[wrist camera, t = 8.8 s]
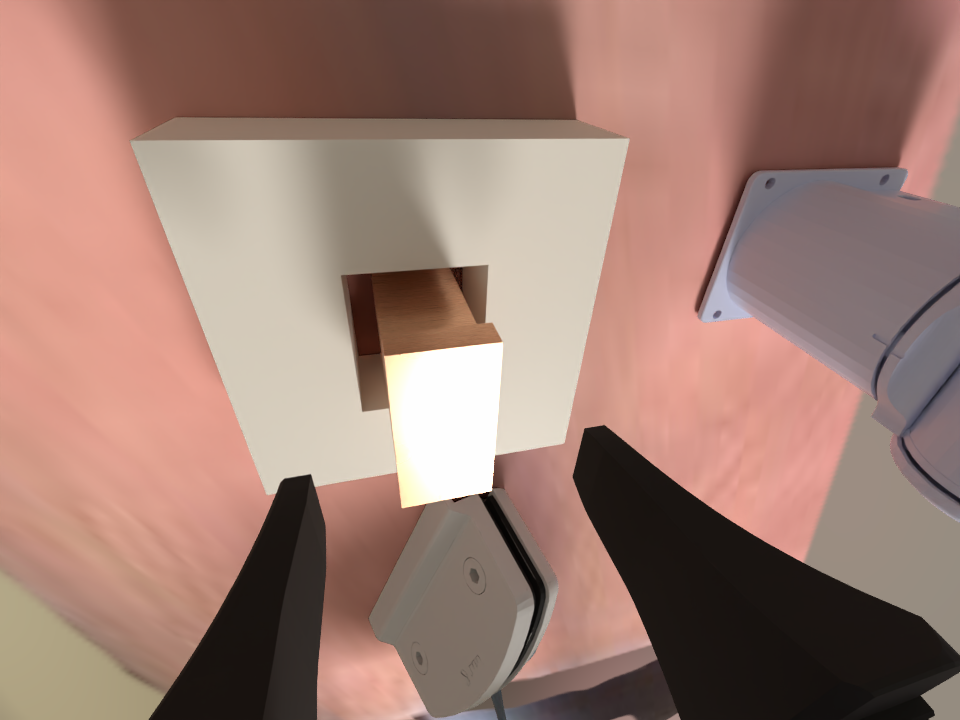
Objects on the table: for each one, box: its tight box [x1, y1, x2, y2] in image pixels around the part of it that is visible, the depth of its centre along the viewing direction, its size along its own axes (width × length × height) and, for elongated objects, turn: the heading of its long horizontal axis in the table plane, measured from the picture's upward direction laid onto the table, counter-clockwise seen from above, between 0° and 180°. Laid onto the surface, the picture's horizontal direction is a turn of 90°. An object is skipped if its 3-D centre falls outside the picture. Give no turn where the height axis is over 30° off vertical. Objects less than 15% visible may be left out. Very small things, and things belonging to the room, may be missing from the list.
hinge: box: [368, 488, 558, 718], centre depth 30 cm, size 17×5×10 cm, turn 157°
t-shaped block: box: [371, 268, 503, 508], centre depth 16 cm, size 3×6×9 cm, turn 178°
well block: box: [130, 117, 630, 495], centre depth 18 cm, size 14×14×4 cm
